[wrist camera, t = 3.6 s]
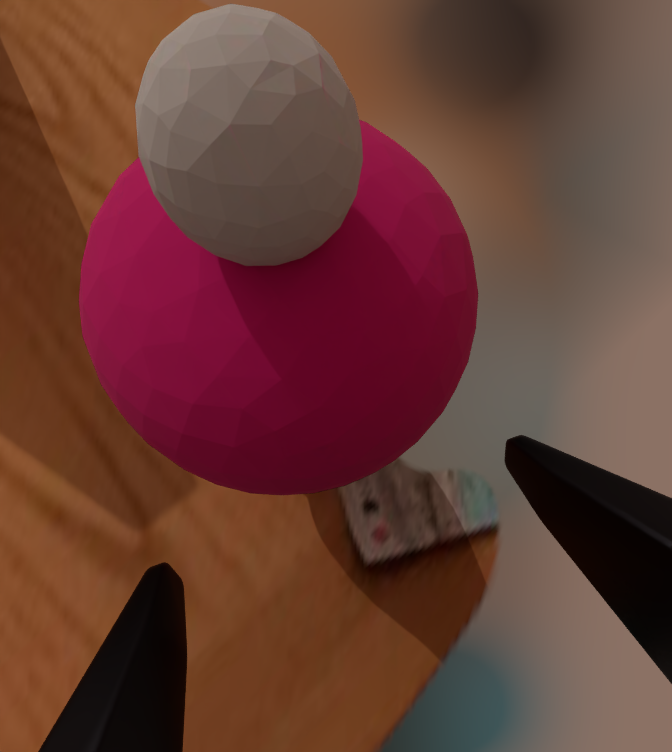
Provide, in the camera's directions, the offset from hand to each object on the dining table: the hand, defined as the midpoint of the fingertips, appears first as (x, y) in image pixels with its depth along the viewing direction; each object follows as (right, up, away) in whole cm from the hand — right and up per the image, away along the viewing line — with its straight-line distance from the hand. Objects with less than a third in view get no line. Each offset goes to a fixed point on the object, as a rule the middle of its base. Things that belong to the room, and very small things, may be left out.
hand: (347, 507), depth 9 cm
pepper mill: (-2, +1, +13) cm, 13 cm away
